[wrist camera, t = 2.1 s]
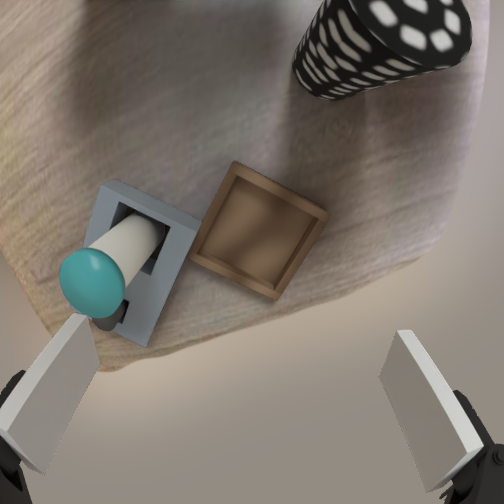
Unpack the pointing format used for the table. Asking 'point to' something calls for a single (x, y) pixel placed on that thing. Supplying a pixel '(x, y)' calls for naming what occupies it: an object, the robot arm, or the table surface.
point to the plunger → (111, 318)
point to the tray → (257, 231)
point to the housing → (153, 271)
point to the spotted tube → (379, 44)
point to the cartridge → (109, 265)
